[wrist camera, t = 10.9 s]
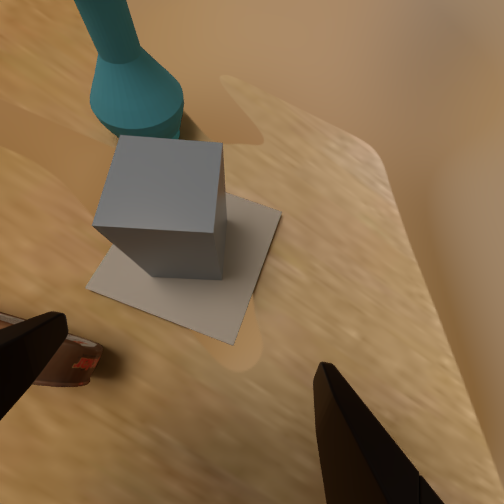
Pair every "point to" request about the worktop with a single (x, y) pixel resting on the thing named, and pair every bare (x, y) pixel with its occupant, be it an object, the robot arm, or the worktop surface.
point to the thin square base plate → (198, 290)
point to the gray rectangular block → (167, 206)
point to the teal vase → (129, 76)
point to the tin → (65, 359)
